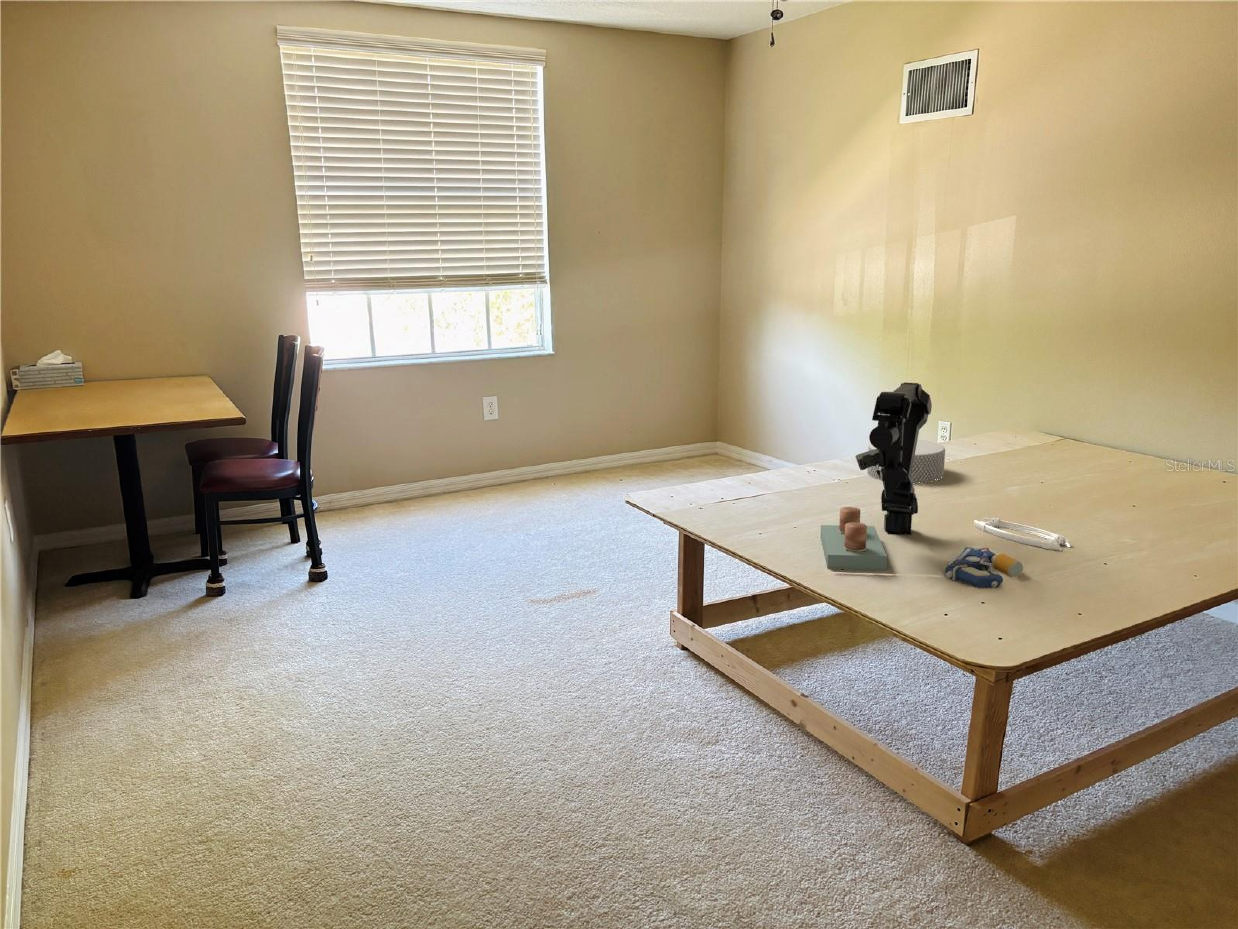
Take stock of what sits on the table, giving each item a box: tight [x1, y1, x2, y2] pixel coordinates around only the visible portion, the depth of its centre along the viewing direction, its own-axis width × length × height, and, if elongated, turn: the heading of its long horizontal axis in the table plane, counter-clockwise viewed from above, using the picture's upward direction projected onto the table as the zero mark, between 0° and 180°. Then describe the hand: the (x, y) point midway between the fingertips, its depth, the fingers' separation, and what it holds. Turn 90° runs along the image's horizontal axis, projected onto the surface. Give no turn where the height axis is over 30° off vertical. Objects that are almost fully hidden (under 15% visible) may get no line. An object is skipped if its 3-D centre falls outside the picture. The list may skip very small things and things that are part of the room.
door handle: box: [973, 517, 1072, 552], centre depth 224 cm, size 3×10×25 cm
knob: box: [866, 438, 946, 484], centre depth 288 cm, size 25×10×25 cm
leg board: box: [820, 524, 888, 571], centre depth 215 cm, size 14×23×4 cm, turn 171°
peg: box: [844, 522, 868, 552], centre depth 208 cm, size 5×5×10 cm
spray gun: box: [944, 545, 1024, 589], centre depth 200 cm, size 21×4×15 cm
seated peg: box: [838, 506, 861, 534], centre depth 221 cm, size 5×5×10 cm
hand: (888, 499), depth 217 cm, fingers closed
